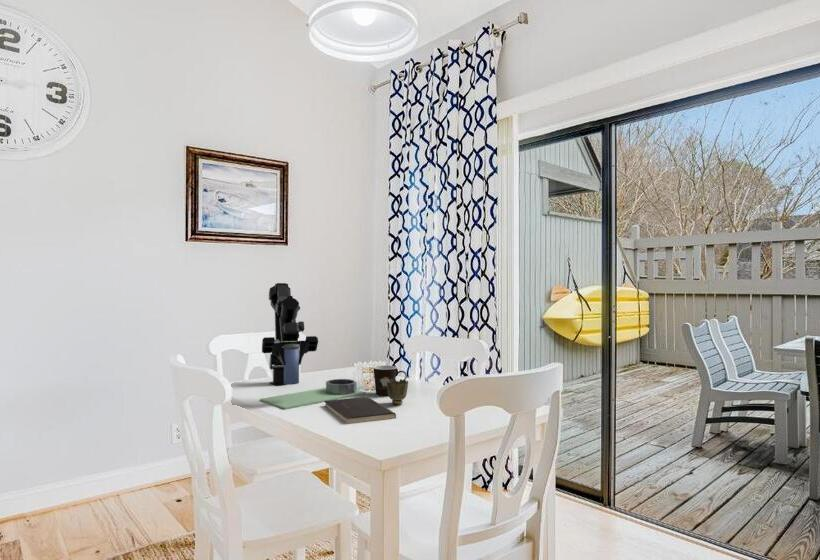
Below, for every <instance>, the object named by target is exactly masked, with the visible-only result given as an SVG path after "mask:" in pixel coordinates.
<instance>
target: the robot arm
mask: <svg viewBox="0 0 820 560" xmlns="http://www.w3.org/2000/svg"><path fill="white" fill-rule="evenodd" d="M268 300H269V301H270V306H271V307H272V309H273V311H274V332H275V333H274V335H275V336H273V337H271V336H269V337H267V336H266V337H263V338H262V340H261V341H262V343H261V353H263V354H270V355H269V356H270V357H269V369H270V370H272V381H269V384H271V385H274V386H284V385H286V384H284V365H285V360H284V345H285V344H300V348H299V366H300V365H301V364H302V361H303V358H304V355H305V354H307V353H308V352H309V353H310V352H316V351H317V349H318V345H319V338H318V337H317V336H316V335H307V336H305V340H300V339H299V338H300V332H302V333H303V332H304V331H305V321H298V322H297V318H298V312H299V310H301V306H300V302H299V301H298V300H297V299H296V298H294V296H293V295H292V294H291V288H290V286H289V284H288V283H286V282H277V283H275V284H274V286H271V287H270V288H269V290H268Z"/></svg>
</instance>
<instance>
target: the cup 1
mask: <svg viewBox="0 0 820 560" xmlns="http://www.w3.org/2000/svg"><path fill="white" fill-rule="evenodd" d="M355 381H356V380H355ZM355 381H354V379H349V378H337V379H328V380H326V381H325V388H326V392H327V393H329V394H334V395H346V394H352V393H355V392H356V390H357V383H358V382H357V381H356V382H355Z"/></svg>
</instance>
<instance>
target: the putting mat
mask: <svg viewBox="0 0 820 560" xmlns="http://www.w3.org/2000/svg"><path fill="white" fill-rule="evenodd" d="M366 393H367V392H366V391H363V390H359V389H356V392H355V393H352V394H346V395H334V394H329V393H327V392H326V387H322V388H316V389H315V388H314V389H311V390H310V389H309V390H305V391H297V392H294V393H287V394H279V395H276V396H269V397H265V398H259V401H260V402H262V403H266V404H268V405H272V406H274V407H277V408H280V409H283V410H290V409H295V408H301V407H303V406H304V407H305V406H310V405H315V404H320V403H325V402H324V401H328V400H338V399H348V398H353V397H357V396H361V395H365V394H366Z"/></svg>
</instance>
